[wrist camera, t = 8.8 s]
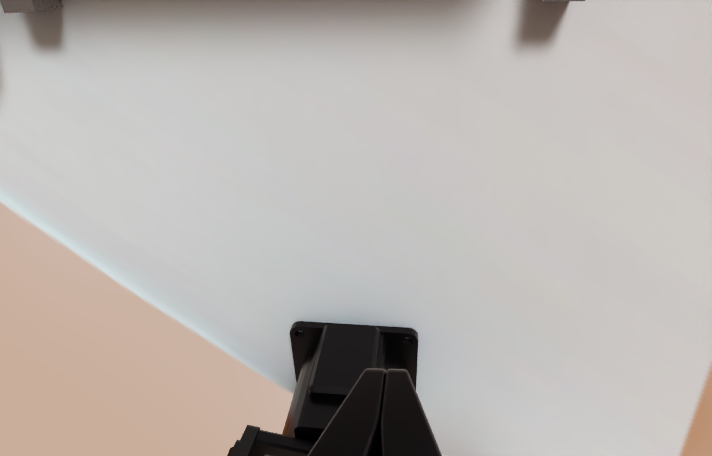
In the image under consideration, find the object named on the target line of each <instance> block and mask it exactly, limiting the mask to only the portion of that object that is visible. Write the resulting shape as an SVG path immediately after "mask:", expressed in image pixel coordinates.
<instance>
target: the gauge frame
mask: <svg viewBox="0 0 712 456" xmlns="http://www.w3.org/2000/svg"><path fill="white" fill-rule="evenodd" d="M542 1H544V2H558V1H585V0H542ZM0 2H1V4H2V7H3V10H4V13H20V12H39V11H44V10H50V9H55V8H60V7H63V6H62V3H61V0H0Z"/></svg>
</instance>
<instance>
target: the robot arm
mask: <svg viewBox="0 0 712 456" xmlns="http://www.w3.org/2000/svg"><path fill="white" fill-rule="evenodd" d="M298 330H300V331H302V332H299V331H298ZM290 337H291V344H292V351H293V359H294V366H295V373H296V381H297V385H296V389H295V392H294V396H293V400H292V403H291V406H290V410H289V413H288V417H287V420H286V423H285V427H284V430H283V434H282V435H281V434H277V433H271V432H267V431H263V430H260V428H259V427H255V426H250V425H247V427H246V429H245V431H244V434H243V436H242V438H241V440H240V441H239V440H237V441H236V443H235V445H234V447H232V448H230V450H229V453H228V456H442V455H441V453H440V450H439V448H438V445H437V443H436V440H435V438H434V435H433V433H432V430H431V428H430V425H429V423H428V420H427V418H426V415H425V413H424V410H423V408H422V405H421V403H420V400H419V398H418V395H417V393H416V374H417V353H418V333H417V332H416V331H415V330H414V329H411V328H402V327H386V326H369V325H353V324H336V323H320V322H303V321H299V322H295V323H294V324H293V325H292V328H291V330H290ZM405 337H410V338H411V339H405Z"/></svg>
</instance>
